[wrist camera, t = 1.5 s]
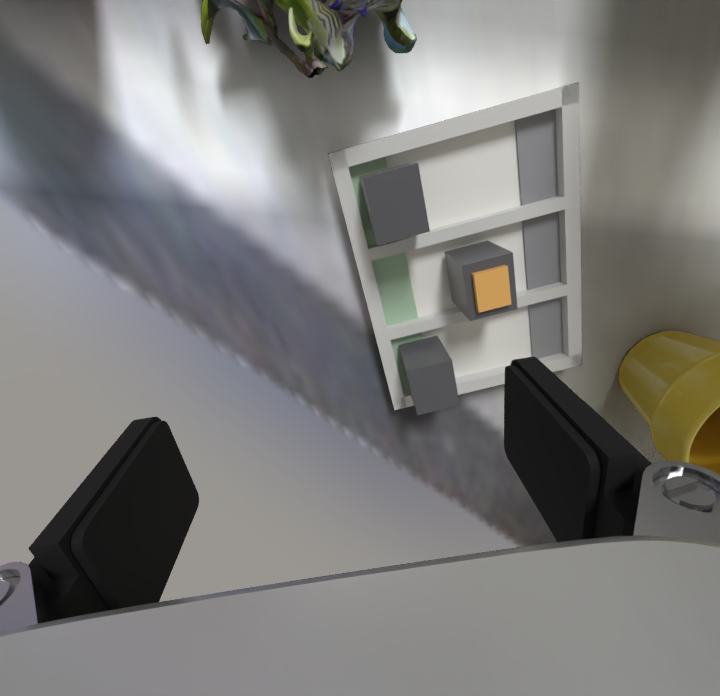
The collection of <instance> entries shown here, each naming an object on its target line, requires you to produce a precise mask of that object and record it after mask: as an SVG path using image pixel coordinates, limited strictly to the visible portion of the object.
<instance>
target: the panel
mask: <svg viewBox="0 0 720 696" xmlns="http://www.w3.org/2000/svg"><path fill="white" fill-rule="evenodd" d="M328 156H329V160H330V164H331V168H332V171H333V175H334V179H335V183H336V187H337V191H338V194H339V198H340V202H341V206H342V210H343V214H344V218H345V221H346V225H347V229H348V233H349V237H350V241H351V245H352V248H353V252H354V256H355V260H356V264H357V268H358V271H359V275H360V279H361V283H362V287H363V291H364V295H365V298H366V302H367V306H368V310H369V314H370V318H371V322H372V325H373V329H374V333H375V337H376V341H377V345H378V348H379V352H380V356H381V360H382V364H383V368H384V372H385V375H386V379H387V383H388V387H389V391H390V395H391V399H392V402H393V406H394V410H398V409H402V408H406V407H410V406H414V403H413V400H412V397H411V394H410V391H409V388H408V384H407V380H406V376H405V372H404V367H403V363H402V359H401V354H400V350H399V346H398V345H401V344H405V343H409V342H413V341H417V340H421V339H425V338H428V337H432V336H436V335H437V336H438V337H439V339H440V341H441V342H442V344H443V346H444V348H445V349H446V351H447V353H448V354H449V356H450V358H451V359H452V363H453V369H454V374H455V380H456V386H457V392H458V395H460V394H464V393H468V392H472V391H476V390H481V389H485V388H489V387H493V386H497V385H501V384H505V367H506V366H510V365H511V362H512V360H514V359H521V358H527V357H536V358H538V359H539V360H540V361H541V362H542V363H543V364H544V365H545V366H546V367H547V368H548V369H549V370H550V371H552V372H555V371H559V370H563V369H567V368H572V367H576V366H580V365H582V318H581V227H580V136H579V82H578V83H574V84H571V85H567V86H564V87H560V88H557V89H553V90H550V91H546V92H543V93H539V94H536V95H532V96H529V97H525V98H522V99H518V100H514V101H511V102H507V103H504V104H500V105H497V106H493V107H490V108H486V109H483V110H479V111H476V112H472V113H469V114H465V115H462V116H458V117H455V118H451V119H448V120H444V121H441V122H437V123H434V124H430V125H427V126H423V127H420V128H416V129H413V130H409V131H406V132H402V133H399V134H395V135H392V136H388V137H385V138H381V139H378V140H374V141H371V142H367V143H364V144H360V145H357V146H353V147H350V148H346V149H343V150H339V151H335V152H332V153H328ZM408 163H418V165H419V171H420V177H421V183H422V189H423V194H424V200H425V206H426V212H427V218H428V223H429V229H430V232H426V233H423V234H419V235H415V236H412V237H408V238H404V239H400V240H397V241H393V242H389V243H385V244H382V245H378V244H377V242H376V240H375V238H374V237H373V235H372V231H371V227H370V222H369V218H368V214H367V210H366V205H365V201H364V197H363V192H362V188H361V184H360V180H359V177H360V176H363V175H367V174H370V173H374V172H378V171H381V170H385V169H388V168H392V167H395V166H399V165H403V164H408ZM487 240H488V241H490V242H492V243H494V244H496V245H498V246H500V247H502V248H505V249H507V250H509V251H511V252H513V260H514V272H515V284H516V296H517V307H518V309H517V310H513V311H509V312H505V313H501V314H497V315H493V316H489V317H485V318H481V319H477V320H473V321H469V320H468V318H467V317H466V316H465V315H464V314H463V313H462V311H461V310H460V309H459V308H458V307H457V306H456V304H455V303H454V302H453V301H452V296H451V290H450V284H449V278H448V271H447V265H446V259H445V253H444V252H446V251H449V250H453V249H457V248H461V247H465V246H468V245H472V244H476V243H480V242H483V241H487Z"/></svg>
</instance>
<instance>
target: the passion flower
mask: <svg viewBox="0 0 720 696" xmlns="http://www.w3.org/2000/svg"><path fill="white" fill-rule="evenodd" d="M273 1H274V3H275V4H276V5H278V6H279V7H280V8H281V9H282V10H283V11H284V12H285V13H286V14H287V15H288V16H289V31H290V35H291V37H292V39H293V41H294V43H295V44H296V46H297V47H298V49H299V50H300V51H302V52H304V53H305V56H306V62H304V61H302V60H301V59H300V58H299V57H298V56H297V55H296V54H295V53H294V52H293V50H290V48H289V47H288V46H287V45H286V44H285V43H283V42H282V41H281V40H280V39H279V37H278V36H277V25H276V21H275V19H274V16H273V13H272V5H273ZM257 2H258V5H259V9H260V12H259V14H257V13H255V12H253V11H252V10H250V9H248V8H246V7H245V6H243V5H242V4H240V3H239V2H237V1H236V0H203V3H202V8H201V28H202V33H203V36H204V40H205V43H206V44H209V41H210V35H211V30H212V24H213V19H214V16H215V14H216V13H217V11H219V10H220V9H222V8H223V7H231V8H233V9H235V10H237V11H238V12H239V14H240V15H241V16H242V18H243V22H244V24H245V26H246V28H247V33H248V34H246V35H243V38H244V39H245V40H250V41H251V40H255V39H256V40H262V41H264V42H265V43H267V44H269V45H273V44H274V45H275V46H276V47H277V48H278V49H279V50H280V51H281V52H282V53H284V54H285V55H286V56H287V57H288V58H289V59H290V60H291V61H292V62H293V63H294V64H295V66H296V67H297V68H298V70H299V71H300V72H302V73H303V74H305V75H306V76H307V77H308V78H313V76H314V75H319V74H321V73H322V72H323V71H324V70H325V68H328V67H327V66H326V65H325V64H324V63H323V62H328V63H331V64H332V65H334V66H335V67H336V69H337V70H338V71H341V70H343V69H344V68H345V67H346V66H348V65H349V63H350V62H351V60H352V55H353V48H354V42H353V33H354V27H355V24H356V21H357V19H358V18H359V16H360V15H361V14H362V16H363V17H365V18H366V16H367V15H368V12H367V11H368V10H374V11H375V12H376V13H377V14H378V16H379V17H380V19H381V21H382V24H383V27H384V38H385V41H386V43H387V45H388V47H389V48H390V49H391V50H392V51H393V52H395V53H408V52H410V51H411V50H412V48H413V47H414V44H415V42H416V40H417V37H416V34H415V33H414V32H413V30H412V29H411V27H410V26H409V24H408V22H407V20H406V18H405V15H404V13H403V11H402V9H401V2H402V0H257ZM297 25H298V26H300V27H301V28H303V29H304V30H305V32H306V33H307V35H301V34H300V33H299V32H298V31H297Z"/></svg>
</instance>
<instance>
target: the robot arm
mask: <svg viewBox="0 0 720 696" xmlns="http://www.w3.org/2000/svg"><path fill="white" fill-rule="evenodd" d="M504 447H505V452H506V455H507V458H508V460H509V461H510V463H511V465H512V466H513V468H514V470H515V471H516V473H517V475H518V476H519V478H520V480H521V481H522V483H523V485H524V486H525V488H526V490H527V491H528V493H529V495H530V496H531V498H532V500H533V501H534V503H535V505H536V506H537V508H538V510H539V511H540V513H541V515H542V516H543V518H544V520H545V522H546V523H547V525H548V527H549V528H550V530H551V532H552V533H553V535H554V537H555V538H556V540H557V542H556V543H548V544H541V545H533V546H526V547H518V548H511V549H503V550H496V551H489V552H482V553H476V554H469V555H462V556H455V557H448V558H442V559H435V560H428V561H421V562H415V563H408V564H401V565H395V566H388V567H382V568H374V569H368V570H361V571H355V572H349V573H342V574H336V575H329V576H322V577H316V578H309V579H302V580H297V581H290V582H283V583H277V584H270V585H264V586H257V587H251V588H244V589H238V590H233V591H226V592H220V593H214V594H207V595H201V596H194V597H188V598H182V599H176V600H170V601H163V602H159V600H160V598H161V595H162V593H163V590H164V588H165V585H166V583H167V581H168V578H169V576H170V573H171V571H172V569H173V566H174V564H175V561H176V559H177V556H178V554H179V551H180V549H181V547H182V544H183V542H184V539H185V537H186V534H187V532H188V530H189V527H190V525H191V523H192V520H193V518H194V515H195V513H196V510H197V507H198V504H199V496H198V492H197V490H196V488H195V485H194V483H193V481H192V478H191V476H190V474H189V471H188V469H187V467H186V464H185V462H184V460H183V458H182V455H181V453H180V451H179V448H178V446H177V444H176V441H175V439H174V437H173V435H172V432H171V430H170V428H169V425H168V424H167V422H165V421H161V420H160V419H159V418H158V417H151V418H145V419H138V420H134V421H133V422H131V424H130V425H129V426H128V427H127V429H126V430H125V431H124V432H123V434H121V436H120V437H119V438H118V440H117V441H116V442H115V443H114V444H113V446H112V447H111V448H110V449H109V450H108V452H107V453H106V454H105V455H104V457H103V458H102V459H101V460H100V462H99V463H98V464H97V465H96V466H95V468H94V469H93V470H92V471H91V473H90V474H89V475H88V476H87V477H86V479H85V480H84V481H83V482H82V484H81V485H80V486H79V487H78V488H77V490H76V491H75V492H74V493H73V495H72V496H71V497H70V498H69V500H68V501H67V502H66V503H65V505H64V506H63V507H62V508H61V509H60V511H59V512H58V513H57V514H56V515H55V517H54V518H53V519H52V520H51V522H50V523H49V524H48V525H47V527H46V528H45V529H44V530H43V531H42V533H41V534H40V535H39V536H38V538H37V539H36V540H35V541H34V543H33V544H32V545H31V546H30V547H29V550H30V551H31V553H32V554H33V555H34V559H33V560H32V561H31V563H30V564H29V565H28V564H26V563H22V562H11V563H7V564H4V565H1V566H0V696H720V475H719V474H717V473H715V472H713V471H711V470H709V469H707V468H704V467H701V466H698V465H694V464H691V463H686V462H680V461H661V462H656V463H653V464H651V463H650V462H649V461H648V460H647V459H646V458H645V457H644V456H643V455H642V454H641V453H640V452H639V451H637V450H636V449H635V448H634V447H633V446H632V445H631V444H630V443H629V442H628V441H627V440H626V439H625V438H623V437H622V436H621V435H620V434H619V433H618V432H617V431H616V430H615V429H614V428H613V427H612V426H611V425H609V424H608V423H607V422H606V421H605V420H604V419H603V418H602V417H601V416H600V415H599V414H598V413H597V412H595V411H594V410H593V409H592V408H591V407H590V406H589V405H588V404H587V403H586V402H584V401H583V400H582V399H581V398H579V397H578V396H577V395H576V394H575V393H574V392H573V391H572V390H571V389H570V388H569V387H568V386H567V385H566V384H564V383H563V382H562V381H561V380H560V379H559V378H558V377H557V376H556V375H555V374H554V373H553V372H552V371H550V370H549V369H548V368H547V367H546V366H545V365H544V364H543V363H542V362H541V361H540V360H539V359H538V358H536V357H527V358H521V359H514V360H512V362H511V365H510V366H506V367H505V396H504Z"/></svg>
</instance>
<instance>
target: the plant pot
mask: <svg viewBox="0 0 720 696" xmlns="http://www.w3.org/2000/svg"><path fill="white" fill-rule="evenodd" d="M618 378H619V383H620V386H621V388H622V390H623V391H624V393H625V394H626V395H627V397H628V398H629V399H630V401H631V402H632V403H633V405H634V406H635V408H636V409H637V410H638V412H639V413H640V414H641V416H642V417H643V418H644V420H645V421H646V423H647V424H648V425H649V427H650V428H651V437H652V440H653V443H654V445H655V447H656V449H657V450H658V451H659V453H660V454H661V455H662V456H663V457H664V458H665V459H666V460H667V461H680V462H686V463H691V464H694V465H698V466H701V467H704V468H707V469H709V470H711V471H713V472H715V473H717V474H719V475H720V341H717V340H713V339H709V338H705V337H701V336H697V335H693V334H689V333H685V332H680V331H663V332H659V333H656V334H653V335H650V336H648V337H646V338H644V339H643V340H641V341H640V342H639V343H637V344H636V345H635V346H634V347H633V348H632V349H631V350H630V351H629V352H628V353H627V355H626V356H625V358H624V359H623V361H622V363H621V366H620V369H619V376H618Z"/></svg>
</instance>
